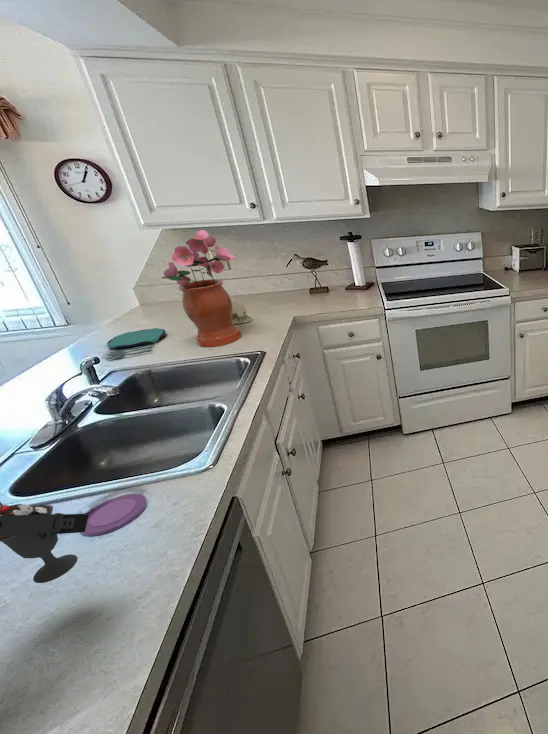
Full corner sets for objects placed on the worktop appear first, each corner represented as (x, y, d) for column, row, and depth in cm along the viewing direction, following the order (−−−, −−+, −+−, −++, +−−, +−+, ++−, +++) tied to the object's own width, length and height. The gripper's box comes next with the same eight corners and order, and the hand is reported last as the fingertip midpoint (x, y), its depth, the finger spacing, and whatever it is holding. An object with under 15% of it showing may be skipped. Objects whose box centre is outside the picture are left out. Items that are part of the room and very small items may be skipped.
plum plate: (64, 535, 82) (62, 532, 82) (114, 495, 92) (112, 492, 92) (114, 537, 82) (112, 534, 81) (160, 497, 91) (158, 493, 91)
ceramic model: (249, 315, 204) (243, 296, 200) (254, 321, 197) (248, 301, 192) (216, 322, 196) (209, 302, 192) (220, 328, 188) (213, 308, 184)
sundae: (27, 568, 64) (-30, 495, 57) (85, 543, 68) (38, 472, 61) (21, 598, 59) (-41, 522, 53) (84, 569, 63) (33, 496, 57)
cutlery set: (171, 329, 189) (169, 324, 188) (157, 352, 165) (155, 347, 164) (116, 338, 181) (114, 333, 180) (93, 363, 157) (91, 358, 156)
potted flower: (260, 339, 175) (227, 230, 156) (188, 355, 162) (143, 238, 143) (253, 327, 189) (223, 225, 170) (187, 340, 176) (146, 232, 157)
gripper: (-283, 586, 41) (-19, 558, 62) (-62, 566, 42) (120, 545, 64) (-244, 506, 43) (-3, 505, 65) (-37, 489, 45) (130, 494, 66)
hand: (58, 525), depth 64 cm, fingers closed on sundae, 7 cm apart
